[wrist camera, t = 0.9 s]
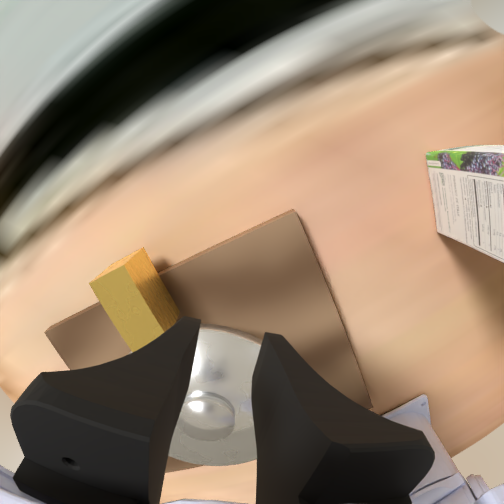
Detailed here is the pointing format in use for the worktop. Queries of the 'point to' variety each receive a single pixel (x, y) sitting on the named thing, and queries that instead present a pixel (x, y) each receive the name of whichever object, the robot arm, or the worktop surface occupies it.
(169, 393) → the robot arm
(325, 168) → the worktop surface
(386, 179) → the worktop surface
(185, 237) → the worktop surface
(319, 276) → the post board
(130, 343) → the small silver pan
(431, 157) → the syrup box
